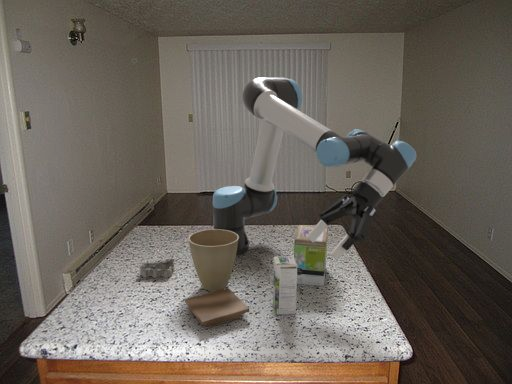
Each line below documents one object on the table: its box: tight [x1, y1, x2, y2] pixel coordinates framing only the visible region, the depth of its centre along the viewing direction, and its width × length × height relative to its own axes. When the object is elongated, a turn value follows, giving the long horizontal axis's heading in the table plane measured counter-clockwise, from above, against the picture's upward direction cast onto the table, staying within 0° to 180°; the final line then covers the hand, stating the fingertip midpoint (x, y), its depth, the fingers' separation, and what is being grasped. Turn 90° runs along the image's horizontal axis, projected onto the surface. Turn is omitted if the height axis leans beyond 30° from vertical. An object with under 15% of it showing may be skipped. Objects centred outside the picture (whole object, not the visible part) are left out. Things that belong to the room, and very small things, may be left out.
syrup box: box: [272, 255, 298, 316], centre depth 106 cm, size 6×6×14 cm
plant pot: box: [187, 228, 239, 292], centre depth 120 cm, size 15×15×16 cm
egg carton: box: [139, 258, 175, 278], centre depth 130 cm, size 11×8×4 cm
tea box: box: [293, 224, 329, 287], centre depth 127 cm, size 15×10×15 cm
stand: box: [184, 287, 250, 329], centre depth 105 cm, size 13×13×3 cm
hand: (320, 248), depth 107 cm, fingers open, 13 cm apart
